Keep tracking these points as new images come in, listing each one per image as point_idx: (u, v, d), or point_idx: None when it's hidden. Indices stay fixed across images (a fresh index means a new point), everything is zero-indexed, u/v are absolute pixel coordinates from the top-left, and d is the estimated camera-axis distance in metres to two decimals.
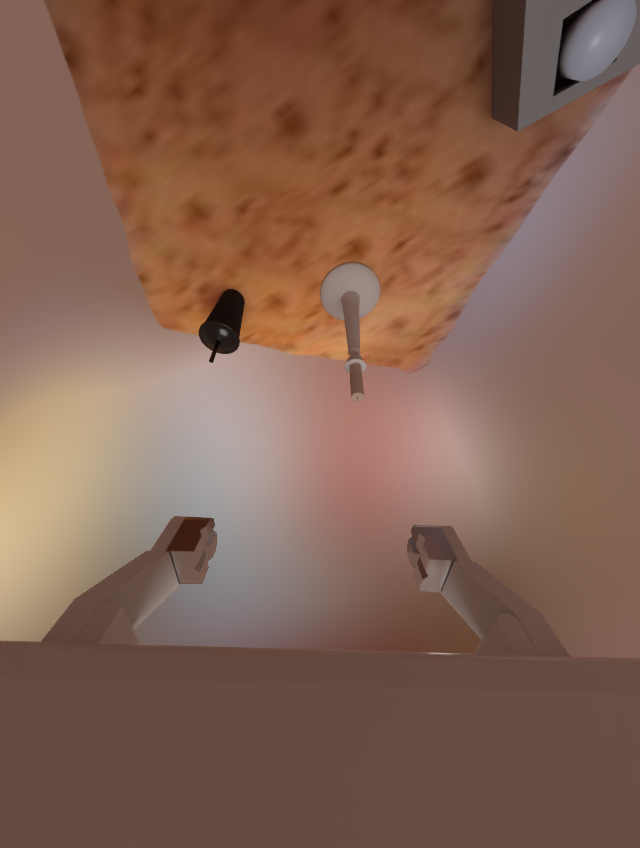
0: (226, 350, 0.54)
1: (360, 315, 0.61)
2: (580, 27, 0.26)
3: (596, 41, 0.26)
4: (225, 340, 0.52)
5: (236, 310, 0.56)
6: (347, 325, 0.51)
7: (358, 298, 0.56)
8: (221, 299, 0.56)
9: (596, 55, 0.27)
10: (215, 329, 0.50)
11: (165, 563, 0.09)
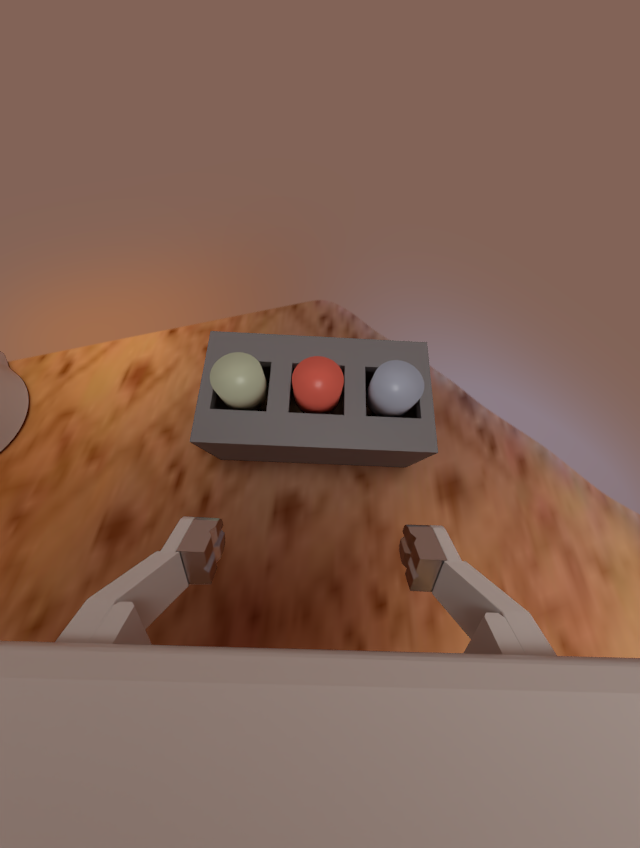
0: None
1: None
2: (379, 401, 0.25)
3: (396, 387, 0.25)
4: None
5: None
6: None
7: None
8: None
9: (407, 385, 0.25)
10: None
11: (175, 563, 0.09)
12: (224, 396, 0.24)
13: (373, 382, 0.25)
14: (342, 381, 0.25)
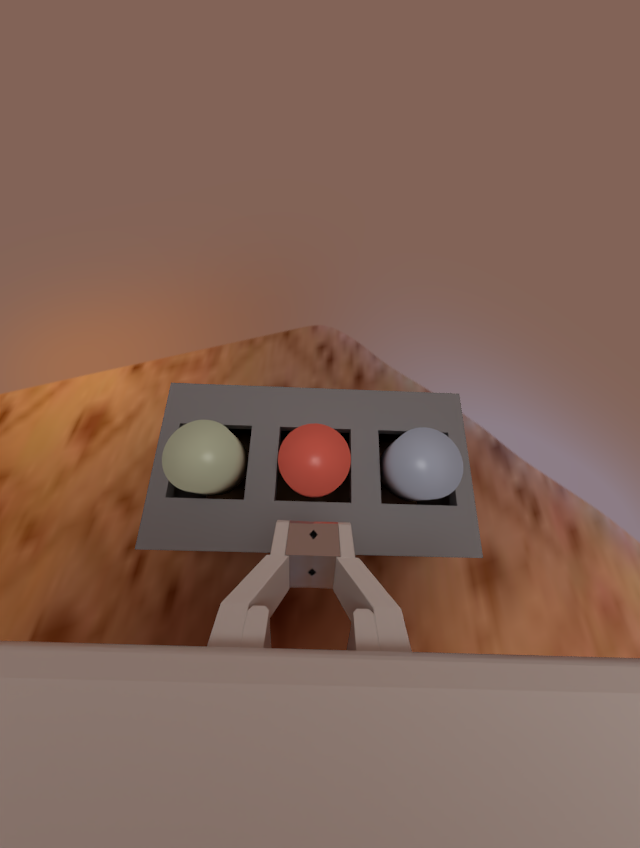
0: None
1: None
2: (400, 488, 0.18)
3: (424, 468, 0.18)
4: None
5: None
6: None
7: None
8: None
9: (440, 465, 0.18)
10: None
11: (285, 567, 0.09)
12: (181, 488, 0.17)
13: (392, 461, 0.18)
14: (348, 461, 0.18)
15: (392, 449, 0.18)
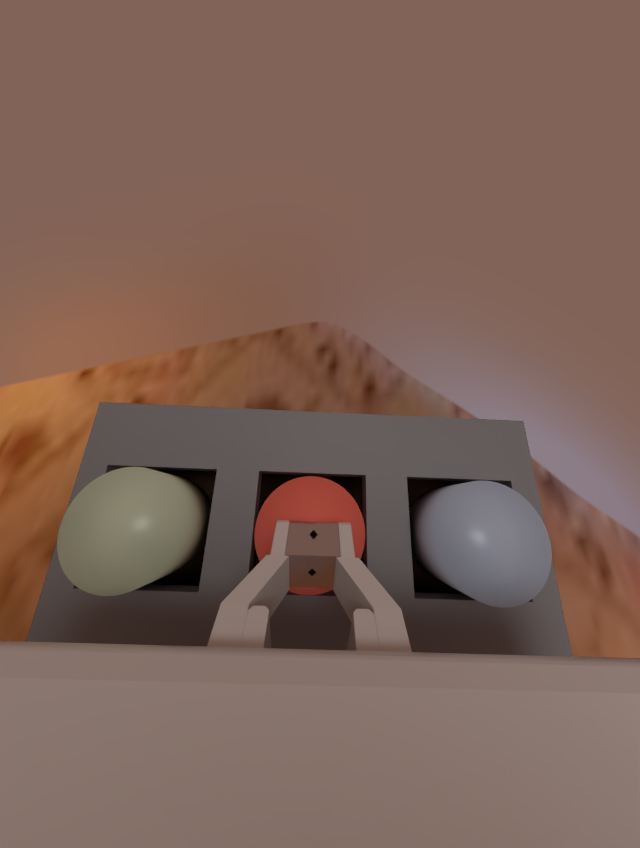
0: None
1: None
2: (448, 581, 0.11)
3: (489, 552, 0.11)
4: None
5: None
6: None
7: None
8: None
9: (513, 545, 0.11)
10: None
11: (285, 567, 0.09)
12: (85, 588, 0.10)
13: (435, 539, 0.11)
14: (362, 537, 0.12)
15: (435, 517, 0.11)
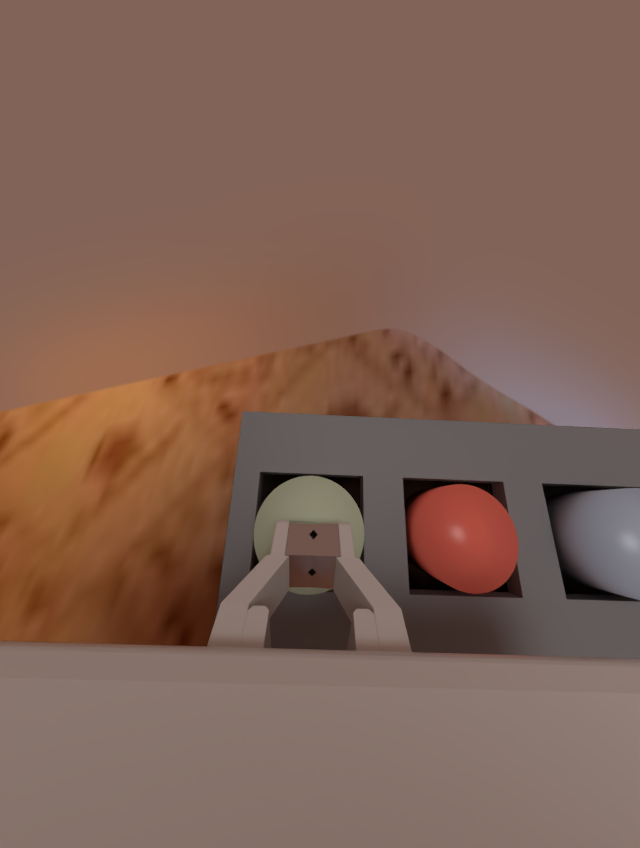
0: None
1: None
2: (610, 583, 0.12)
3: None
4: None
5: None
6: None
7: None
8: None
9: None
10: None
11: (285, 567, 0.09)
12: None
13: (599, 543, 0.12)
14: (515, 540, 0.13)
15: (594, 523, 0.12)
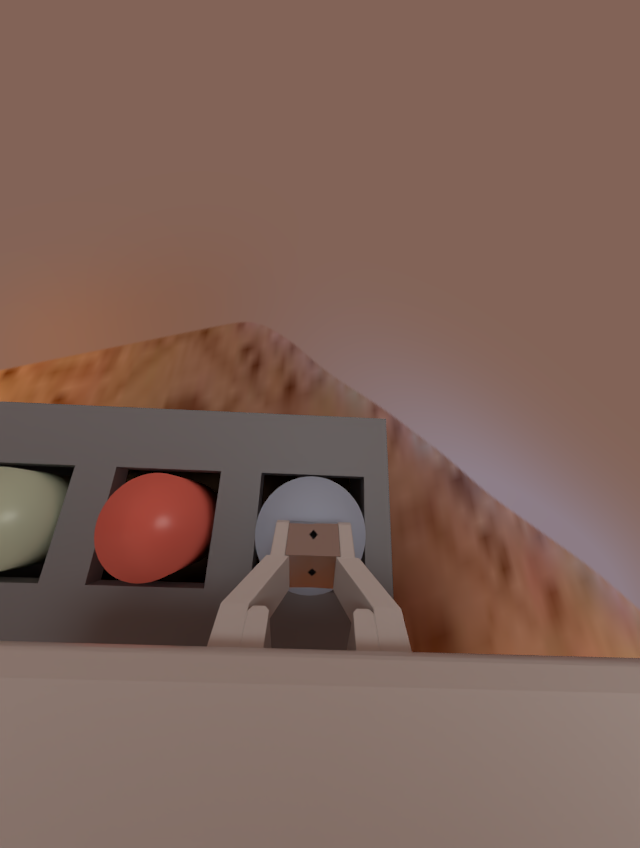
0: None
1: None
2: None
3: None
4: None
5: None
6: None
7: None
8: None
9: None
10: None
11: (285, 567, 0.09)
12: None
13: (256, 531, 0.12)
14: (197, 530, 0.12)
15: (261, 511, 0.12)
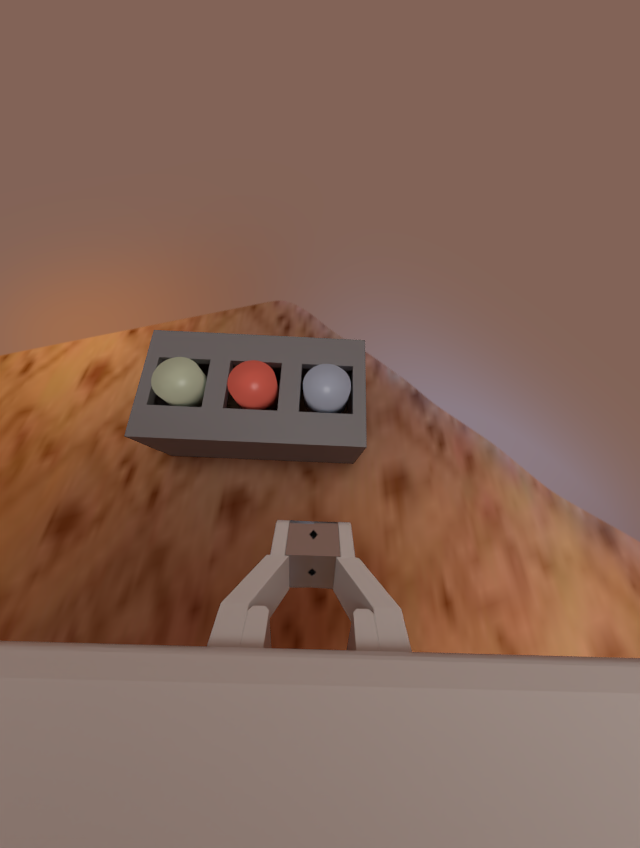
0: None
1: None
2: (309, 402, 0.27)
3: (324, 388, 0.27)
4: None
5: None
6: None
7: None
8: None
9: (335, 387, 0.27)
10: None
11: (285, 567, 0.09)
12: (163, 397, 0.26)
13: (303, 384, 0.27)
14: (274, 383, 0.27)
15: (304, 377, 0.27)
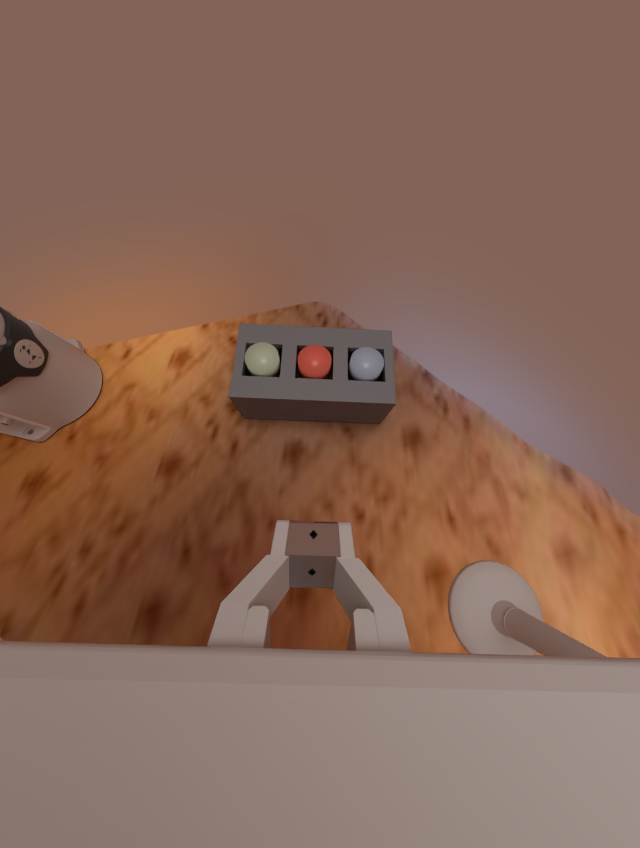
0: None
1: (537, 611, 0.37)
2: (354, 374, 0.39)
3: (365, 364, 0.38)
4: None
5: None
6: None
7: (508, 604, 0.35)
8: None
9: (373, 363, 0.38)
10: None
11: (285, 567, 0.09)
12: (254, 370, 0.37)
13: (350, 361, 0.38)
14: (330, 360, 0.38)
15: (351, 356, 0.39)
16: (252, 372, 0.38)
